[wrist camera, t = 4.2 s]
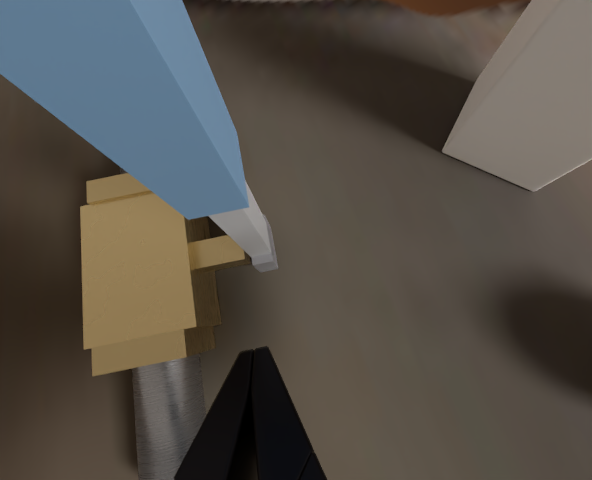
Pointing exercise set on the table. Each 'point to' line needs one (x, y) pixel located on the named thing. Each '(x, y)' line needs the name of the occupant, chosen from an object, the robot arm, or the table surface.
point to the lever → (138, 102)
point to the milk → (532, 99)
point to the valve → (152, 309)
